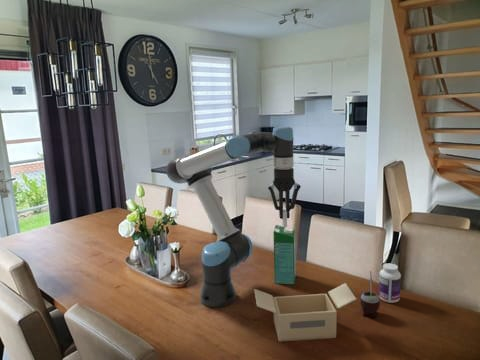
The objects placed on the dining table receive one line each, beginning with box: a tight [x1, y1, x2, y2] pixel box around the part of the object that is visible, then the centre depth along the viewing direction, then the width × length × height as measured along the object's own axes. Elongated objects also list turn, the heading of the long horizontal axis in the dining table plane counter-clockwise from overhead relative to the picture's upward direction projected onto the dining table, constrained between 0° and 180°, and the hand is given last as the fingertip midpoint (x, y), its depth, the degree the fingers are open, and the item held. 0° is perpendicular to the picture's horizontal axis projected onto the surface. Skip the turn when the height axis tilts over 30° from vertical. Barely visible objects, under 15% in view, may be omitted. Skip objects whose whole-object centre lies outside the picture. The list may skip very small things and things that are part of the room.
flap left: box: [253, 288, 277, 314], centre depth 127 cm, size 1×11×7 cm
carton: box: [273, 293, 338, 342], centre depth 129 cm, size 20×12×10 cm, turn 93°
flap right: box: [327, 282, 357, 310], centre depth 128 cm, size 1×11×7 cm
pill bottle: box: [378, 262, 402, 304], centre depth 146 cm, size 8×8×14 cm
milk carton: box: [273, 224, 297, 285], centre depth 164 cm, size 9×9×25 cm
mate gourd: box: [359, 270, 381, 319], centre depth 136 cm, size 8×8×15 cm
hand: (284, 226), depth 143 cm, fingers closed
